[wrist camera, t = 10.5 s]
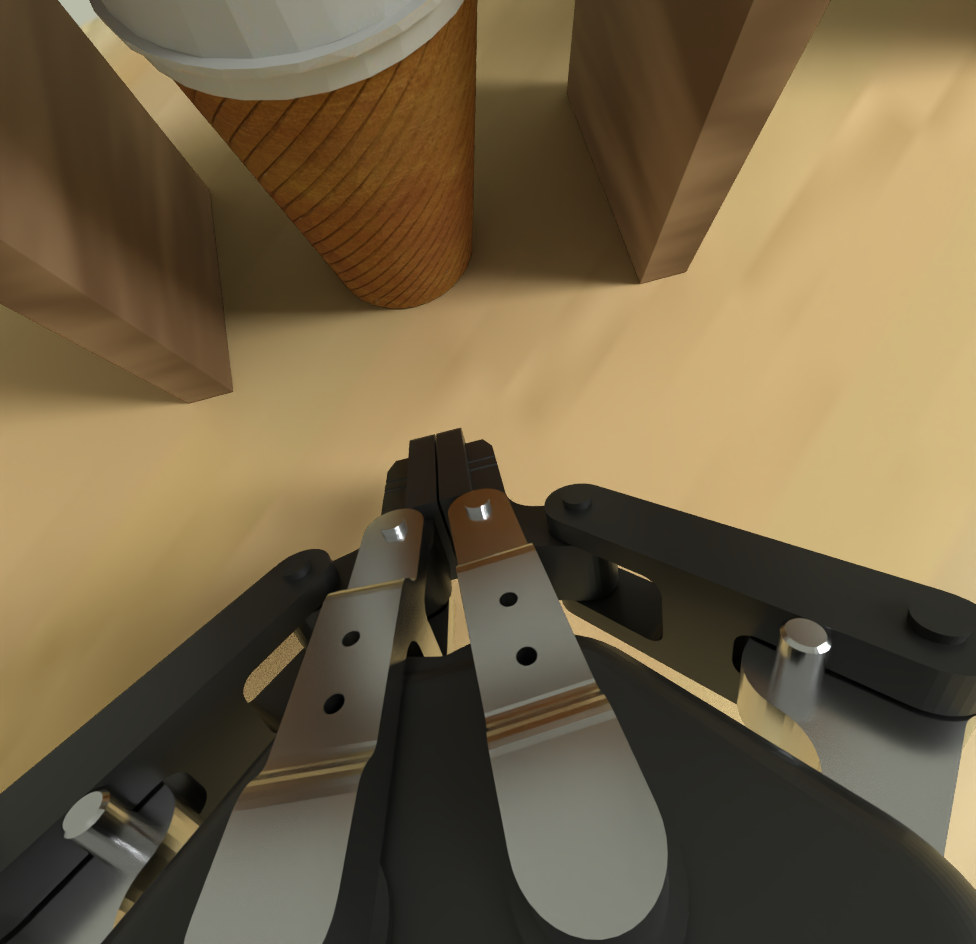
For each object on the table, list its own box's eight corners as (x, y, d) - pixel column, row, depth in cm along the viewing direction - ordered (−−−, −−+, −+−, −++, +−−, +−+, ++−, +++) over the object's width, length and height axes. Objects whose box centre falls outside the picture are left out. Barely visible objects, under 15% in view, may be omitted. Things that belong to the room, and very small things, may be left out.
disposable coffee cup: (261, 284, 21) (-76, -99, 9) (379, 134, 22) (222, -359, 11) (433, 380, 19) (291, 61, 7) (548, 211, 20) (584, -277, 9)
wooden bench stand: (606, 82, 22) (868, -1445, 5) (686, 271, 19) (1681, -1599, 3) (170, 200, 22) (-859, -911, 6) (188, 403, 19) (-1656, -577, 3)
